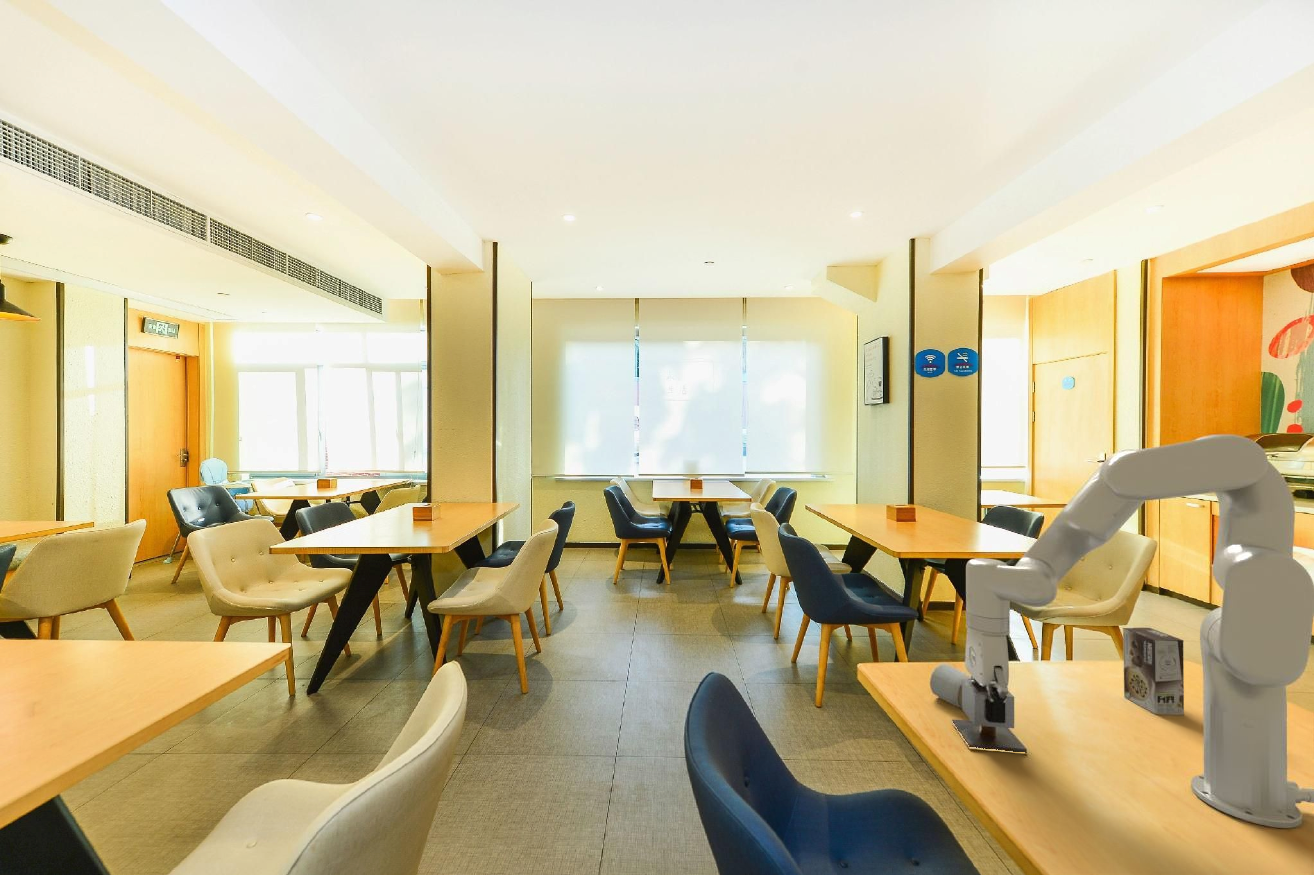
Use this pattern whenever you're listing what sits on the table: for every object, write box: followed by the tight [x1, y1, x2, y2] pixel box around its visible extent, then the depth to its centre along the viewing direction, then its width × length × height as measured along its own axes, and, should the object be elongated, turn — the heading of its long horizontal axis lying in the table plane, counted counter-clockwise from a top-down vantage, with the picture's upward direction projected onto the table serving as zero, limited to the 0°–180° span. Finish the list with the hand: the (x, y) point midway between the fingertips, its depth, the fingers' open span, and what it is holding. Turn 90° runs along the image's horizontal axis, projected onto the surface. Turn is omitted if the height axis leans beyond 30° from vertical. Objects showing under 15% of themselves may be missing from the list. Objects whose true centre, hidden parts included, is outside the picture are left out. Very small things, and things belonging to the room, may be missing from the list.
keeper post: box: [951, 719, 1028, 754], centre depth 114 cm, size 10×10×8 cm
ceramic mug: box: [929, 663, 971, 709], centre depth 130 cm, size 11×8×8 cm
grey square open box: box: [961, 679, 1015, 729], centre depth 114 cm, size 7×7×6 cm
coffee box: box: [1122, 627, 1185, 716], centre depth 129 cm, size 9×6×16 cm
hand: (987, 712), depth 114 cm, fingers closed on grey square open box, 7 cm apart
